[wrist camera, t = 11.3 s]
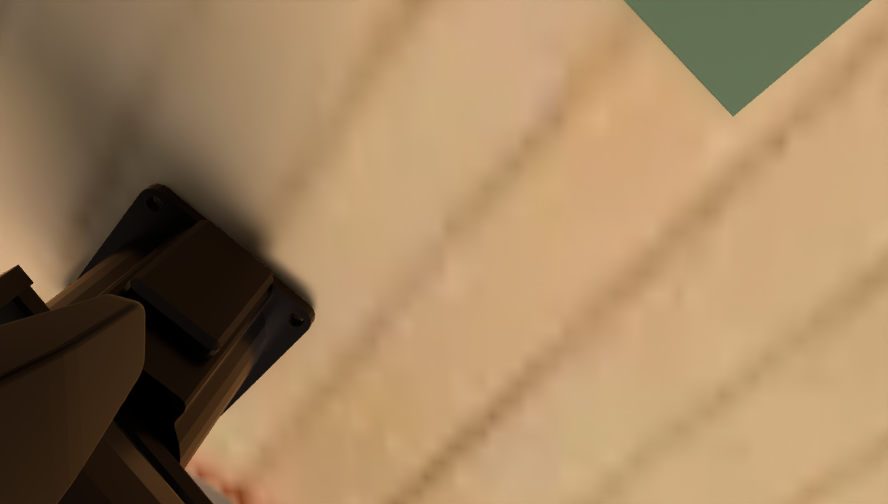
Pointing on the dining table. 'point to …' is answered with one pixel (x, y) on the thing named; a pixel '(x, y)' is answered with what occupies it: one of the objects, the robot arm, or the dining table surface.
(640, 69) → the dining table surface
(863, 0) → the green mat
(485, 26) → the dining table surface
